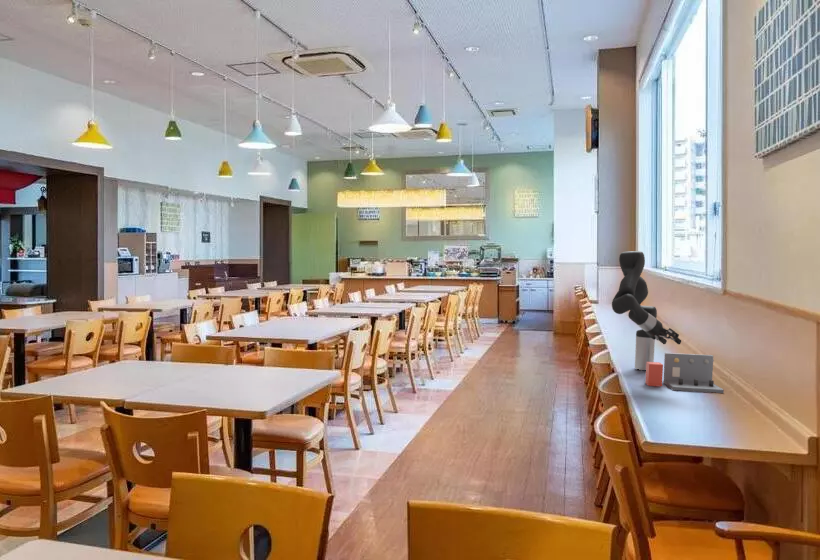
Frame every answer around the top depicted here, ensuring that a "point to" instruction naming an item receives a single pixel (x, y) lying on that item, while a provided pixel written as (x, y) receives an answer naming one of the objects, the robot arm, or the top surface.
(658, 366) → the tall coral upright block
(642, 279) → the robot arm
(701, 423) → the top surface
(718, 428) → the top surface
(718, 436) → the top surface
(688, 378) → the grey peg stand
